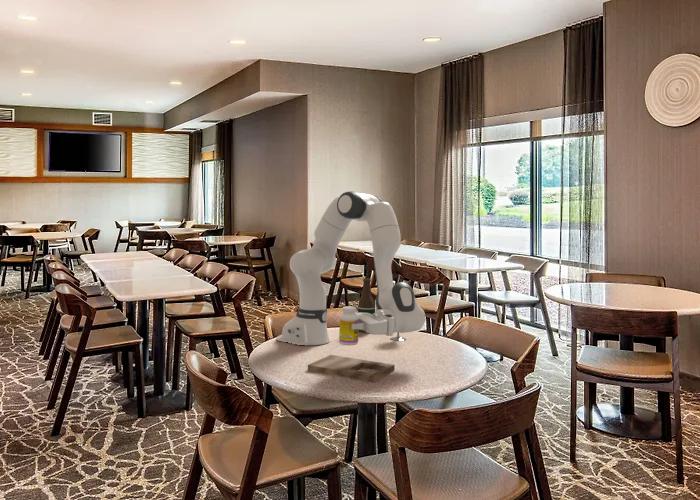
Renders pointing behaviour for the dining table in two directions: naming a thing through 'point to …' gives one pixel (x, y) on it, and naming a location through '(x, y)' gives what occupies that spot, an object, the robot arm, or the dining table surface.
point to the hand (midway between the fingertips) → (346, 323)
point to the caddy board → (351, 368)
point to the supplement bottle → (348, 326)
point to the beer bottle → (366, 300)
